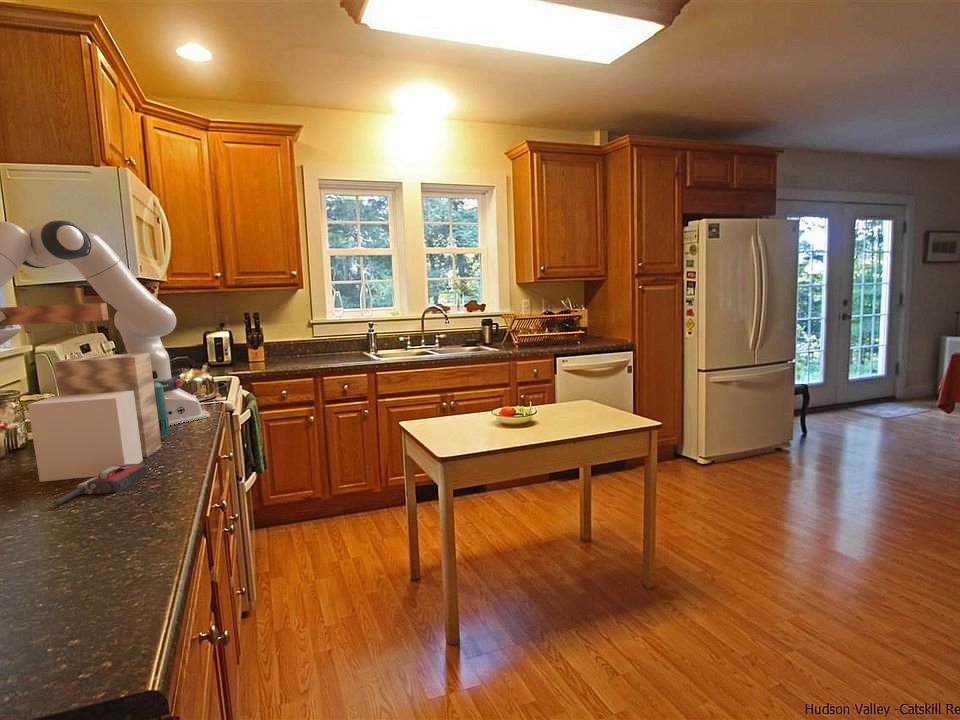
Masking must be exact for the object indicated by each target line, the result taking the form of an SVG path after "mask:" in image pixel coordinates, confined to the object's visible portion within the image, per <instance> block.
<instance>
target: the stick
mask: <svg viewBox="0 0 960 720" xmlns="http://www.w3.org/2000/svg"><path fill="white" fill-rule="evenodd" d="M107 304H108V303H107V302H98V303H96V302H95V303H93V302H92V303H76V304H75V303H74V304H72V303H71V304H52V305H33V306H32V305H28V306H8V307H0V312H5V313H6V314H7V315H8V317H9V318H8V319H6V320H5V321H3V322H0V326H4V325H20V326H21V325H39V324H40V325H41V324H58V323H60V324H62V323H75V322H76V323H78V322H81V323H82V322H99V321H102V322H103V321H109V312H108V305H107Z"/></svg>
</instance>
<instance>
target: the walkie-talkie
mask: <svg viewBox="0 0 960 720" xmlns="http://www.w3.org/2000/svg"><path fill="white" fill-rule="evenodd" d="M144 476H145V477H147V470H146V465H145V464H144V463H139V464H119V467H110V468H108V469H106V470H104V471H102V472H100V473H99V476H94V477H90V478H89V479H87V480H85V481H83V482H82V483H79V484H77V485H76V486H77V488H75V490H73V491H71V492H69V493H67V494H65V495H63V496H61V497H60V498H58V499H55V500H54V501H53V504H54V505H57V506H58V505H60V504H62V503H65V502H67V501H68V500H70V499H72V498H74V497H76V496H77V495H80V494H87V495H93V494H110V493H111V494H112V493H113V492H116V493H118V492H121V491H123V490H124V489H126V488H128V487H129V486H131V485H133V484H134V483H136V482H138V481H139V480H141V479H143V478H144ZM113 494H114V493H113Z"/></svg>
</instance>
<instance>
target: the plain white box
mask: <svg viewBox="0 0 960 720" xmlns="http://www.w3.org/2000/svg"><path fill="white" fill-rule="evenodd" d="M27 409H28V417H29V422H30V428H31V433H32V441H33V447H34V453H35V460H36V465H37V466H36V467H37V472H38V478H39V483H40V482H41V483H42V482H52V481H53V482H54V481H61V480H70V479H71V480H72V479H73V478H74V479H82V478H83V479H84V478H94V477H98V476H99V473H100V472H102V471H104V470H106V469H108V468H110V467H119V464H141V463H142V462H143V459H144V458H142V451H141V443H140V435H139V428H138V420H137V412H136V405H135V397H134V391H120V392H107V393H93V394H79V395H66V396H59V395H55V396H53V395H52V396H50V397H47V398H44V399H40V400H37V401H34V402H32V403H28V404H27Z"/></svg>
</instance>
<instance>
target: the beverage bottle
mask: <svg viewBox="0 0 960 720" xmlns="http://www.w3.org/2000/svg"><path fill="white" fill-rule="evenodd" d="M152 374H153V379H156V378H158V376H157V372H156V371H152ZM154 390H155V398H156V406H157V414H158V422H159V430H160V437H163V436H167V435H168V434H169V432H170V426H168V425H169V423H168V417H167V412H166V403H165V402H166V401H165V397H164V391H163V385H162V384H160V383H159V382H154Z"/></svg>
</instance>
